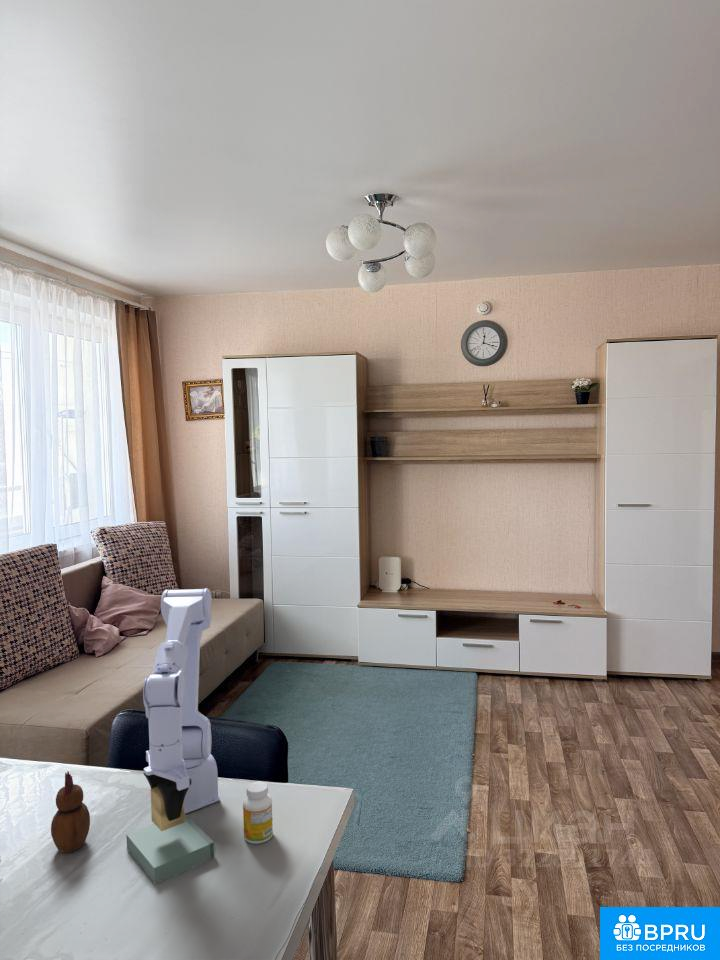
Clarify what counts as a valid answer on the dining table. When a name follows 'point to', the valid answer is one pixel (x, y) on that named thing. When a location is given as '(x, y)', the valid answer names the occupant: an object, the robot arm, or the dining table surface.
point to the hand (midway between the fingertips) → (168, 812)
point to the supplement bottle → (257, 813)
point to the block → (162, 812)
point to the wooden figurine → (70, 817)
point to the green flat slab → (169, 849)
